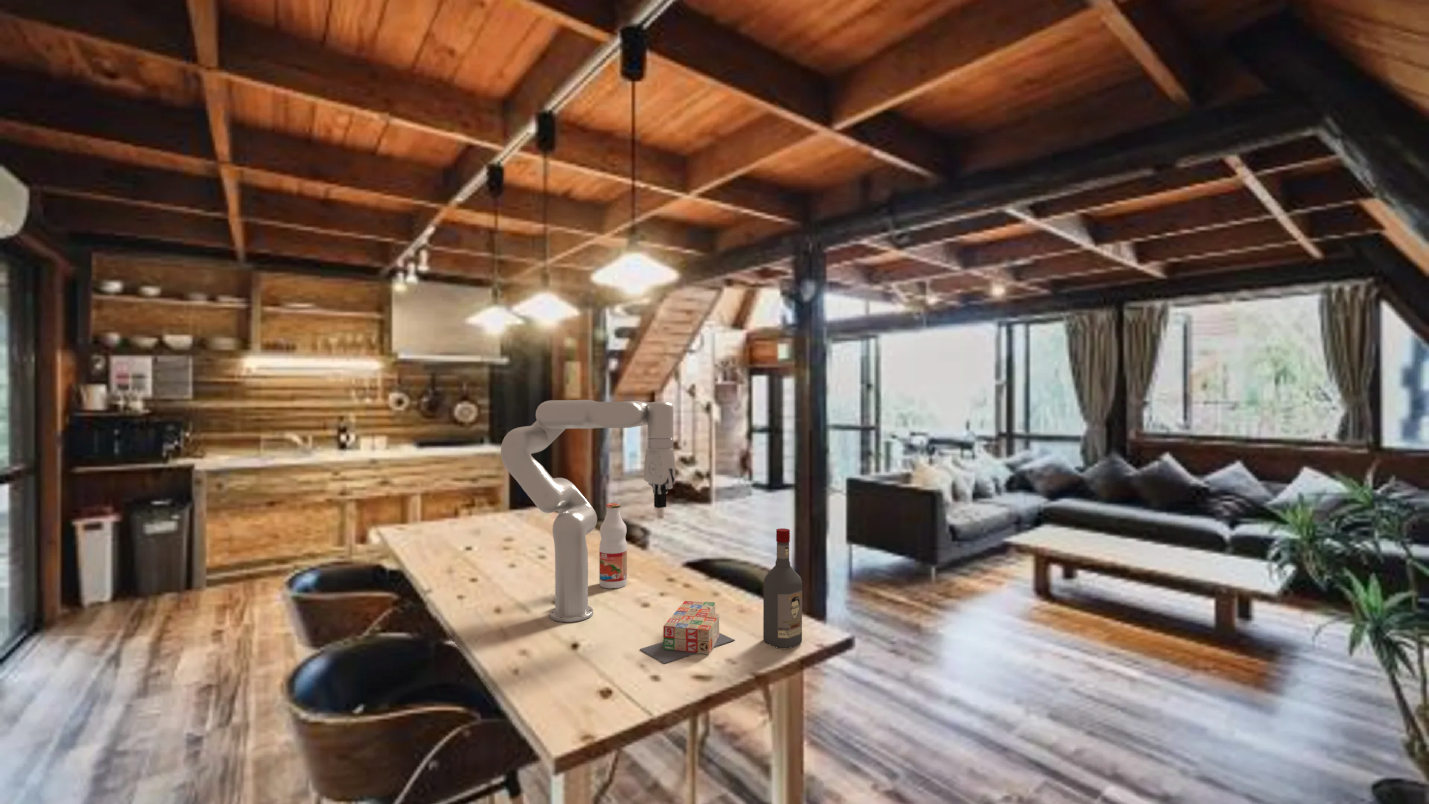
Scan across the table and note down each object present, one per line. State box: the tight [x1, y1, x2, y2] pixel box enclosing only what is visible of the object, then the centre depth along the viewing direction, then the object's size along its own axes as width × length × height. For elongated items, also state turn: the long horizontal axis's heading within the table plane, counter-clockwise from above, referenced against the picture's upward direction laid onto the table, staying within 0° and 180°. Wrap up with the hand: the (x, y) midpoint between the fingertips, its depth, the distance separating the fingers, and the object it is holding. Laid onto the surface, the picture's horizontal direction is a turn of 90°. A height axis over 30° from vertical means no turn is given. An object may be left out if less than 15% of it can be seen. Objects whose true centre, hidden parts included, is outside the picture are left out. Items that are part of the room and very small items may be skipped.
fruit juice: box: [598, 502, 628, 589], centre depth 220 cm, size 9×9×28 cm
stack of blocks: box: [662, 600, 720, 655], centre depth 173 cm, size 21×6×12 cm
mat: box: [639, 632, 736, 665], centre depth 168 cm, size 11×23×1 cm, turn 130°
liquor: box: [762, 527, 803, 649], centre depth 170 cm, size 9×9×30 cm
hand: (660, 507), depth 186 cm, fingers closed
